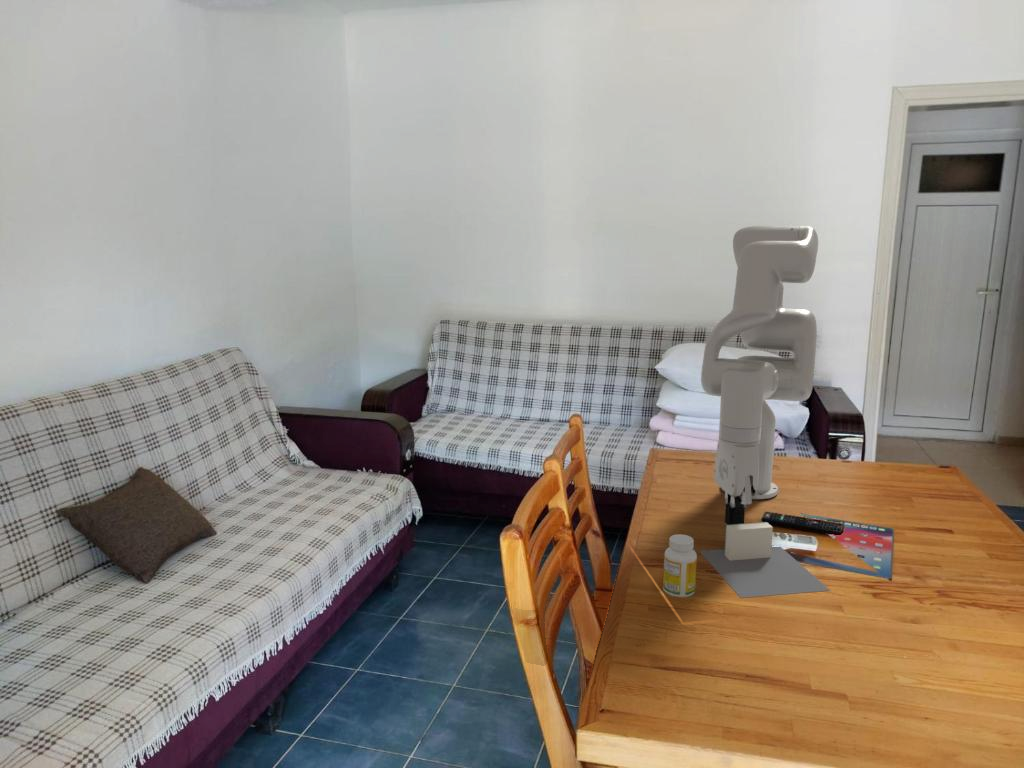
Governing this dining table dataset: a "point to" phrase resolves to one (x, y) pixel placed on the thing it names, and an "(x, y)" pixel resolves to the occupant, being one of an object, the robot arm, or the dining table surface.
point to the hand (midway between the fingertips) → (734, 524)
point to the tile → (748, 541)
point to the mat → (764, 574)
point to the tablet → (859, 548)
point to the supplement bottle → (680, 566)
